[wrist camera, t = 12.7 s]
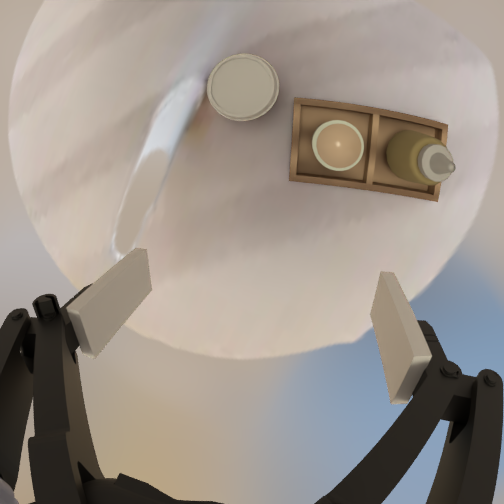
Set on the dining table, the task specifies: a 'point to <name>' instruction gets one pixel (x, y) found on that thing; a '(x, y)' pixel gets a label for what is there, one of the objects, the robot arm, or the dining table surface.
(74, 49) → the dining table surface
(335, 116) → the caddy
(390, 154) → the squeeze bottle
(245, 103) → the disposable coffee cup
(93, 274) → the dining table surface
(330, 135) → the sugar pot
